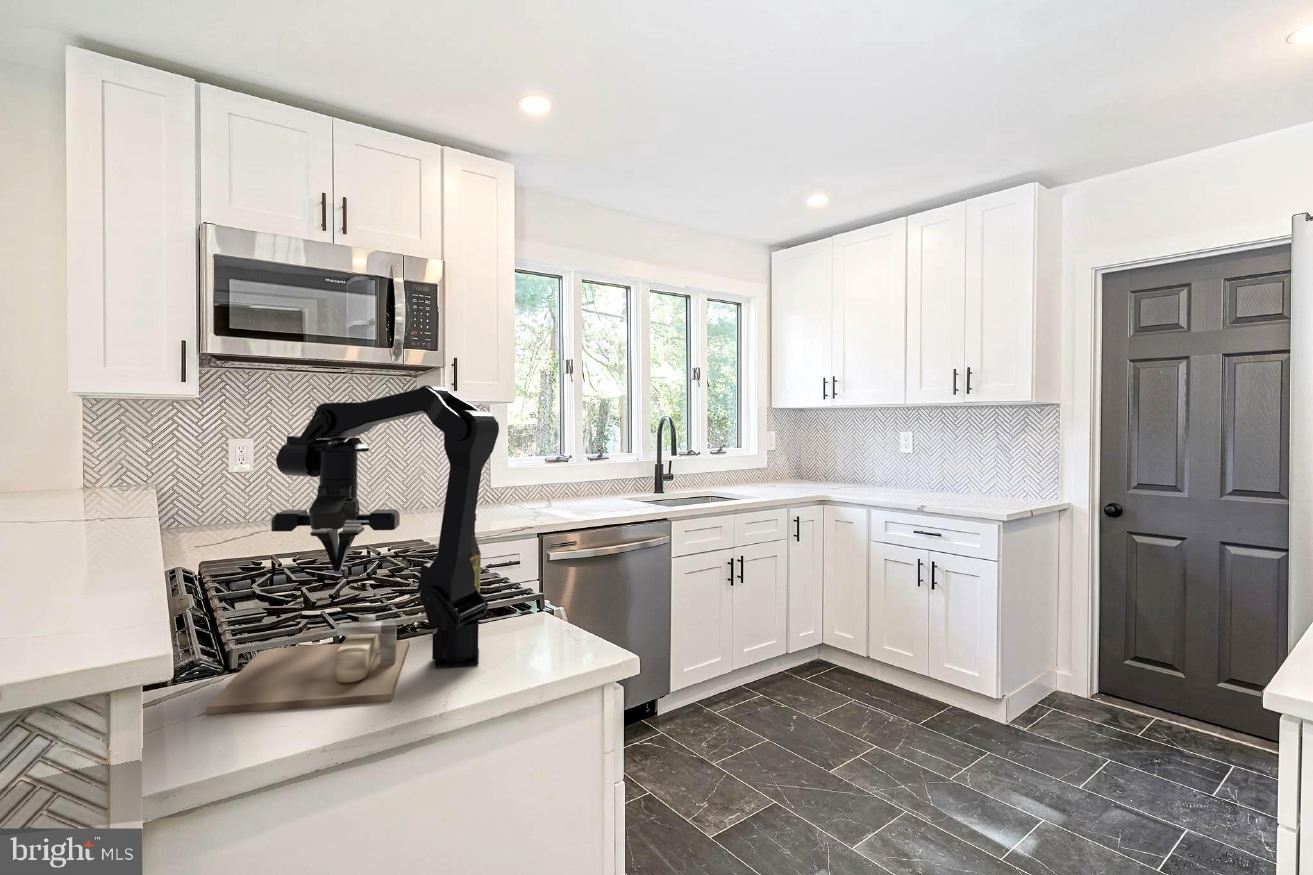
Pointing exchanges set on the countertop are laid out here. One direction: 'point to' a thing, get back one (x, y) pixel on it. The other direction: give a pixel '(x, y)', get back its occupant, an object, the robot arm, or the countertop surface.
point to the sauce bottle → (475, 558)
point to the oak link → (356, 656)
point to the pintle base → (314, 674)
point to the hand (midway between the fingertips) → (337, 571)
